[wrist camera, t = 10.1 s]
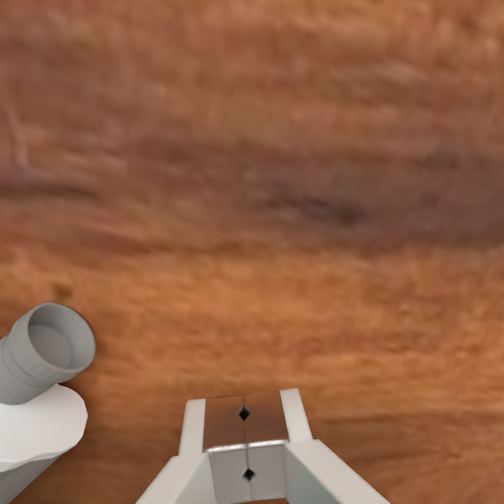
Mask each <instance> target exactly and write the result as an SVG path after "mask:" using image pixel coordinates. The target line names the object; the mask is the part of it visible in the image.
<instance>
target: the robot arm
mask: <svg viewBox="0 0 504 504" xmlns="http://www.w3.org/2000/svg"><path fill="white" fill-rule="evenodd" d="M251 498H252V499H251ZM277 498H286V500H287V501H288V503H289V504H390V503H389V502H388V501H387V500H386V499H385V498H383V497H382V496H381V495H380V494H379V493H378V492H377V491H376V490H375V489H373V488H372V487H371V486H370V485H369V484H368V483H367V482H366V481H365V480H363V479H362V478H361V477H360V476H359V475H358V474H357V473H356V472H355V471H353V470H352V469H351V468H350V467H349V466H348V465H347V464H346V463H345V462H343V461H342V460H341V459H340V458H339V457H338V456H337V455H336V454H335V453H333V452H332V451H331V450H330V449H329V448H328V447H327V446H326V445H325V444H323V443H322V442H321V441H320V440H319V439H314V440H313V439H312V435H311V432H310V428H309V425H308V421H307V418H306V414H305V411H304V407H303V404H302V400H301V397H300V393H299V390H298V389H297V388H290V389H283V390H279V391H278V390H275V391H267V392H259V393H251V394H243V395H233V396H222V397H210V398H204V399H192V400H188V401H187V403H186V406H185V413H184V420H183V427H182V434H181V441H180V447H179V454H178V456H173V457H172V458H171V459H170V460H169V461H168V463H167V464H166V465H165V466H164V468H163V469H162V470H161V471H160V473H159V474H158V475H157V476H156V478H155V479H154V480H153V482H152V483H151V484H150V485H149V487H148V488H147V489H146V490H145V492H144V493H143V494H142V495H141V497H140V498H139V499H138V500H137V502H136V503H135V504H236V503H242V502H248V501H257V500H267V499H277Z"/></svg>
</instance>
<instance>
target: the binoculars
mask: <svg viewBox="0 0 504 504" xmlns="http://www.w3.org/2000/svg"><path fill="white" fill-rule="evenodd" d="M95 353H96V343H95V338H94V335H93V333H92V331H91V329H90V327H89V325H88V324H87V323H86V322H85V320H84V319H83V318H82V317H81V316H80V315H79V314H77V313H76V312H75V311H73V310H72V309H70V308H68V307H66V306H63V305H60V304H56V303H43V304H40V305H37V306H35V307H34V308H32V309H31V310H30V311H28V312H27V313H26V314H24V315H23V316H22V317H21V318H19V319H18V320H17V321H16V323H15V324H14V325H13V327H12V329H11V332H10V333H9V334H8V335H6V336H5V337H4V338H2V339H1V340H0V504H8V503H10V502H11V501H12V500H13V499H14V498H15V497H16V496H17V495H18V494H19V493H20V492H22V491H23V490H24V489H25V488H26V487H27V486H28V485H29V484H30V483H31V482H32V481H33V480H35V479H36V478H37V477H38V476H39V475H40V474H41V473H42V472H43V471H44V470H45V469H46V468H48V467H49V466H50V465H51V464H52V463H53V462H54V461H55V460H56V459H57V458H58V457H59V456H61V455H62V454H63V453H64V452H66V451H68V450H69V449H71V448H72V447H74V446H75V445H76V444H77V443H78V442H79V440H80V439H81V438H82V437H83V433H84V429H85V425H86V421H87V417H88V414H87V410H86V407H85V403H84V400H83V399H82V398H81V397H80V396H79V394H78V393H77V392H75V391H73V390H72V389H70V388H67V387H64V386H60V385H59V384H58V383H61V382H65V381H68V380H70V379H72V378H73V377H75V376H76V375H78V374H79V373H80V372H82V371H83V370H85V369H86V368H87V367H88V366H89V365H90V364H91V363H92V361H93V359H94V356H95Z"/></svg>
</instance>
